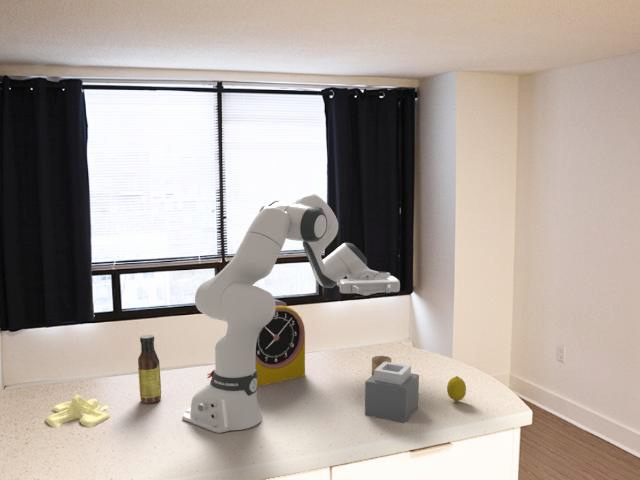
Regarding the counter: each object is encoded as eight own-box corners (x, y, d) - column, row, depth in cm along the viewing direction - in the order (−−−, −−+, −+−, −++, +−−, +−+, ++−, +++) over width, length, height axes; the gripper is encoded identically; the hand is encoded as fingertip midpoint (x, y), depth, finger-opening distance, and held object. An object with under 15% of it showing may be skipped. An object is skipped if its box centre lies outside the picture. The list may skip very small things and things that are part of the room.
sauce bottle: (165, 400, 186) (163, 336, 183) (147, 406, 181) (144, 341, 179) (153, 394, 190) (151, 332, 188) (135, 400, 186) (132, 336, 183)
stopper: (368, 395, 190) (368, 360, 188) (375, 389, 195) (376, 354, 194) (386, 398, 187) (387, 363, 186) (393, 392, 192) (394, 357, 191)
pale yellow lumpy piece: (109, 428, 168) (108, 406, 167) (37, 434, 165) (35, 412, 164) (119, 396, 190) (118, 377, 189) (55, 401, 186) (53, 382, 185)
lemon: (465, 406, 182) (466, 380, 181) (446, 404, 183) (447, 378, 182) (465, 399, 187) (466, 373, 186) (446, 397, 188) (447, 372, 187)
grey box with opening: (364, 414, 176) (365, 371, 174) (379, 400, 186) (380, 358, 184) (405, 423, 170) (406, 378, 169) (418, 407, 181) (419, 364, 179)
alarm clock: (249, 388, 196) (248, 307, 192) (237, 379, 203) (236, 301, 200) (306, 375, 207) (305, 298, 203) (292, 367, 215) (291, 293, 211)
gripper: (335, 273, 211) (342, 282, 197) (393, 272, 213) (404, 280, 200) (335, 291, 211) (342, 301, 198) (393, 290, 214) (404, 299, 201)
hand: (374, 290), depth 199 cm, fingers open, 8 cm apart
